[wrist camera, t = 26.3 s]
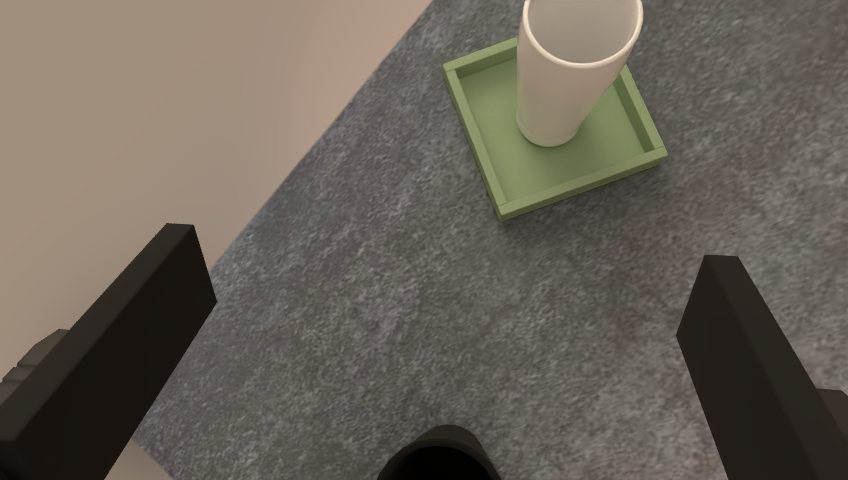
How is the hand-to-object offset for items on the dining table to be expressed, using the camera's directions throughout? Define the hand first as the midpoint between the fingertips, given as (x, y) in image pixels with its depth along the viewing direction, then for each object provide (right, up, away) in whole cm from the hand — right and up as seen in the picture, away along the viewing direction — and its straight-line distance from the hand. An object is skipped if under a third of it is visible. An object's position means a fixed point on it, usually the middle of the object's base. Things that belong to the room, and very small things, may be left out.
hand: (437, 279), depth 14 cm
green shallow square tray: (+10, +11, +31) cm, 35 cm away
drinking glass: (+10, +11, +31) cm, 34 cm away
